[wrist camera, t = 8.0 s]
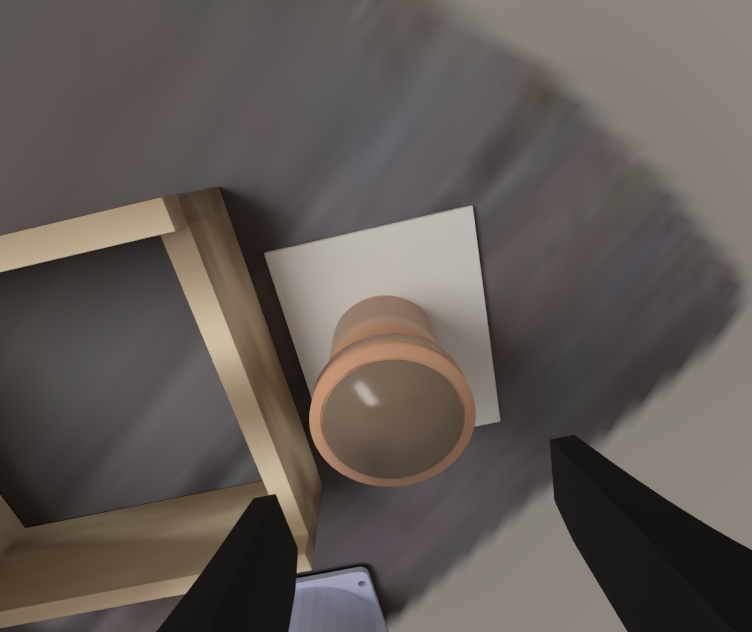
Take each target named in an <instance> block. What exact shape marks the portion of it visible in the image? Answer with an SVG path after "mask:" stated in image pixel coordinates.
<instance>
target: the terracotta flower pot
mask: <svg viewBox="0 0 752 632" xmlns="http://www.w3.org/2000/svg"><path fill="white" fill-rule="evenodd" d="M475 420H476V408H475V402H474V398H473V394H472V392H471V390H470V387H469V385H468V383H467V381H466V379H465V377H464V374H463V372H462V370H461V369H460V367H459V366H458V364H457V363H456V361H455V360H454V359H453V358H452V357H451V356H450V355H449V354H448V353H447V352H446V351H445V350H443V349H442V348H441V346H440V344H439V341H438V339H437V336H436V334H435V332H434V329H433V327H432V324H431V322H430V320H429V319H428V317H427V316H426V314H425V313H424V312H423V311H422V310H421V309H420V308H419V307H418V306H416V305H415V304H413V303H412V302H410V301H408V300H405V299H403V298H399V297H395V296H375V297H370V298H367V299H364V300H362V301H360V302H358V303H356V304H355V305H353V306H352V307H351V308H349V309H348V310H347V311H346V312H345V313H344V314H343V316H342V317H341V318H340V320H339V322H338V323H337V325H336V328H335V331H334V335H333V340H332V346H331V352H330V358H329V362H328V363H327V364H326V365H325V367H324V368H323V370H322V371H321V373H320V375H319V377H318V379H317V382H316V385H315V388H314V393H313V398H312V402H311V407H310V413H309V424H310V431H311V435H312V439H313V441H314V443H315V446H316V448H317V449H318V451H319V453H320V454H321V455H322V457H323V458H324V459H325V460H326V461H327V462H328V463H329V464H330V465H331V466H332V467H333V468H334V469H336V470H337V471H338V472H340V473H341V474H343V475H345V476H347V477H349V478H351V479H353V480H356V481H358V482H361V483H365V484H369V485H375V486H385V487H394V486H404V485H410V484H414V483H418V482H421V481H424V480H426V479H429V478H431V477H433V476H435V475H437V474H439V473H440V472H442V471H443V470H445V469H446V468H447V467H449V466H450V465H451V464H452V463H453V462H454V461H455V460H456V459H457V458H458V457H459V456H460V455H461V454H462V452H463V451H464V450H465V448H466V446H467V445H468V443H469V441H470V439H471V436H472V434H473V431H474V426H475Z"/></svg>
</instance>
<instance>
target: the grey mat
mask: <svg viewBox="0 0 752 632" xmlns="http://www.w3.org/2000/svg"><path fill="white" fill-rule="evenodd" d="M264 255H265V258H266V261H267V264H268V267H269V270H270V274H271V277H272V280H273V283H274V286H275V289H276V292H277V295H278V298H279V301H280V304H281V307H282V310H283V313H284V316H285V319H286V322H287V325H288V328H289V331H290V334H291V337H292V340H293V344H294V347H295V350H296V353H297V356H298V359H299V362H300V365H301V368H302V371H303V374H304V377H305V380H306V383H307V386H308V389H309V392H310V395H311V398H313V393H314V388H315V385H316V382H317V379H318V377H319V375H320V373H321V371H322V370H323V368H324V367H325V365H326V364H327V363H328V362H329V358H330V352H331V346H332V340H333V335H334V331H335V328H336V325H337V323H338V322H339V320H340V318H341V317H342V316H343V314H344V313H345V312H346V311H347V310H348V309H349V308H351V307H352V306H353V305H355V304H356V303H358V302H360V301H362V300H364V299H367V298H370V297H375V296H395V297H399V298H403V299H405V300H408V301H410V302H412V303H413V304H415V305H416V306H418V307H419V308H420V309H421V310H422V311H423V312H424V313H425V314H426V316H427V317H428V319H429V320H430V322H431V324H432V327H433V329H434V332H435V334H436V336H437V339H438V341H439V344H440V346H441V348H442V349H443V350H445V351H446V352H447V353H448V354H449V355H450V356H451V357H452V358H453V359H454V360H455V361H456V363H457V364H458V366H459V367H460V369H461V370H462V372H463V374H464V377H465V379H466V381H467V383H468V385H469V387H470V390H471V392H472V394H473V398H474V402H475V408H476V420H475V426H480V425H485V424H490V423H495V422H500V414H499V407H498V399H497V391H496V383H495V376H494V368H493V360H492V352H491V345H490V337H489V329H488V321H487V313H486V306H485V298H484V290H483V282H482V275H481V267H480V259H479V251H478V244H477V236H476V228H475V220H474V213H473V206H472V205H469V206H465V207H461V208H456V209H452V210H447V211H443V212H439V213H434V214H430V215H426V216H421V217H417V218H413V219H408V220H404V221H399V222H395V223H391V224H386V225H382V226H378V227H373V228H369V229H365V230H360V231H356V232H351V233H347V234H343V235H338V236H334V237H330V238H325V239H321V240H317V241H312V242H308V243H303V244H299V245H295V246H290V247H286V248H282V249H277V250H273V251H269V252H265V253H264ZM475 426H474V427H475Z"/></svg>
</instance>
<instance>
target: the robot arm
mask: <svg viewBox="0 0 752 632" xmlns="http://www.w3.org/2000/svg"><path fill="white" fill-rule="evenodd" d="M550 448H551V462H552V475H553V488H554V500H555V502H556V505H557V507H558V509H559V511H560V513H561V515H562V518H563V520H564V522H565V524H566V526H567V529H568V530H569V533H570V535H571V537H572V539H573V541H574V543H575V545H576V546H577V548H578V550H579V551H580V553H581V555H582V556H583V558H584V560H585V562H586V563H587V565H588V567H589V568H590V570H591V572H592V573H593V575H594V577H595V578H596V580H597V582H598V583H599V585H600V587H601V588H602V590H603V592H604V593H605V595H606V596H607V598H608V600H609V602H610V603H611V605H612V607H613V608H614V610H615V611H616V613H617V615H618V617H619V618H620V620H621V622H622V623H623V625H624V627H625V628H626V630H627V631H628V632H752V550H751V549H749V548H747V547H745V546H743V545H741V544H740V543H738V542H736V541H734V540H732V539H730V538H729V537H727V536H725V535H723V534H722V533H720V532H718V531H717V530H715V529H713V528H712V527H710V526H708V525H707V524H705V523H703V522H702V521H700V520H698V519H697V518H695V517H694V516H692V515H690V514H689V513H687V512H685V511H683V510H682V509H681V508H679V507H677V506H676V505H674V504H673V503H671V502H669V501H668V500H666V499H665V498H663V497H662V496H661V495H659V494H658V493H656V492H655V491H653V490H652V489H650V488H649V487H647V486H646V485H644V484H643V483H641V482H640V481H638V480H637V479H635V478H634V477H632V476H631V475H629V474H628V473H627V472H625V471H624V470H622V469H621V468H620V467H618V466H617V465H615V464H614V463H612V462H611V461H609V460H608V459H607V458H605V457H604V456H603V455H601V454H600V453H599V452H597V451H596V450H595V449H593V448H592V447H590V446H589V445H588V444H586V443H585V442H583V441H582V440H581V439H579V438H578V437H576V436H575V435H571V436H566V437H561V438H556V439H551V440H550ZM297 560H298V547H297V545H296V542H295V540H294V537H293V535H292V533H291V530H290V528H289V525H288V523H287V520H286V518H285V515H284V513H283V510H282V508H281V506H280V503H279V501H278V498H277V496H276V494H272V495H267V496H262V497H257V498H253V500H252V501H251V502H250V504H249V505H248V507H247V508H246V510H245V511H244V512H243V514H242V515H241V517H240V518H239V520H238V521H237V523H236V524H235V525H234V527H233V528H232V530H231V531H230V533H229V534H228V536H227V537H226V539H225V540H224V541H223V543H222V544H221V546H220V547H219V549H218V550H217V552H216V553H215V554H214V556H213V557H212V559H211V560H210V561H209V563H208V564H207V566H206V567H205V568H204V570H203V571H202V573H201V574H200V575H199V577H198V578H197V580H196V581H195V582H194V584H193V585H192V586H191V588H190V589H189V590H188V592H187V593H186V594H185V595H184V597H183V598H182V599H181V601H180V602H179V603H178V605H177V606H176V607H175V609H174V610H173V611H172V613H171V614H170V615H169V616H168V618H167V619H166V620H165V622H164V623H163V624H162V625H161V627H160V628H159V629H158V630H157V632H388V629H387V626H386V623H385V620H384V617H383V614H382V611H381V608H380V604H379V601H378V598H377V595H376V592H375V589H374V586H373V583H372V580H371V577H370V574H369V571H368V570H367V569H366V568H365V567H355V568H350V569H344V570H339V571H333V572H328V573H323V574H317V575H312V576H307V577H301V578H296V576H297Z"/></svg>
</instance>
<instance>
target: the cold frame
mask: <svg viewBox="0 0 752 632" xmlns="http://www.w3.org/2000/svg"><path fill="white" fill-rule="evenodd" d="M157 235H160V236H161V238H162V240H163V243H164V245H165V248H166V250H167V252H168V255H169V257H170V260H171V262H172V264H173V267H174V269H175V272H176V274H177V276H178V279H179V281H180V283H181V286H182V288H183V291H184V293H185V295H186V298H187V300H188V303H189V305H190V307H191V310H192V312H193V315H194V317H195V319H196V322H197V324H198V327H199V329H200V331H201V334H202V336H203V339H204V341H205V343H206V346H207V348H208V350H209V353H210V355H211V358H212V360H213V362H214V365H215V367H216V370H217V372H218V374H219V377H220V379H221V382H222V384H223V386H224V389H225V391H226V394H227V396H228V398H229V401H230V403H231V406H232V408H233V410H234V413H235V415H236V418H237V420H238V422H239V425H240V427H241V429H242V432H243V434H244V437H245V439H246V441H247V444H248V446H249V449H250V451H251V453H252V456H253V458H254V461H255V463H256V465H257V468H258V470H259V473H260V475H261V477H262V480H263V481H259V482H254V483H249V484H244V485H239V486H234V487H229V488H224V489H219V490H214V491H209V492H204V493H199V494H194V495H189V496H184V497H179V498H174V499H169V500H164V501H159V502H154V503H149V504H144V505H139V506H134V507H129V508H124V509H119V510H114V511H109V512H104V513H99V514H94V515H89V516H84V517H79V518H74V519H69V520H64V521H59V522H54V523H49V524H44V525H39V526H34V527H28V528H25V527H24V526H23V524H22V523H21V522H20V520H19V519H18V518H17V516H16V515H15V514H14V512H13V511H12V510H11V508H10V507H9V506H8V504H7V503H6V501H5V500H4V499H3V497H2V496H1V495H0V628H4V627H10V626H15V625H20V624H26V623H31V622H36V621H42V620H47V619H53V618H58V617H63V616H69V615H74V614H79V613H85V612H90V611H95V610H101V609H106V608H111V607H117V606H122V605H128V604H133V603H138V602H144V601H149V600H154V599H160V598H165V597H170V596H176V595H181V594H186V593H187V592H188V590H189V589H190V588H191V586H192V585H193V584H194V582H195V581H196V580H197V578H198V577H199V575H200V574H201V573H202V571H203V570H204V568H205V567H206V566H207V564H208V563H209V561H210V560H211V559H212V557H213V556H214V554H215V553H216V552H217V550H218V549H219V547H220V546H221V544H222V543H223V541H224V540H225V539H226V537H227V536H228V534H229V533H230V531H231V530H232V528H233V527H234V525H235V524H236V523H237V521H238V520H239V518H240V517H241V515H242V514H243V512H244V511H245V510H246V508H247V507H248V505H249V504H250V502H251V501H252V500H253V498H257V497H262V496H267V495H272V494H276V496H277V498H278V501H279V503H280V506H281V508H282V510H283V513H284V515H285V518H286V520H287V523H288V525H289V528H290V530H291V533H292V535H293V537H294V540H295V542H296V545H297V547H298V560H297V573H299V572H304V571H310V570H312V564H313V556H314V548H315V540H316V532H317V524H318V516H319V508H320V500H321V492H322V481H321V478H320V475H319V472H318V470H317V467H316V464H315V461H314V458H313V455H312V452H311V450H310V447H309V444H308V441H307V438H306V435H305V432H304V429H303V427H302V424H301V421H300V418H299V415H298V412H297V409H296V407H295V404H294V401H293V398H292V395H291V392H290V389H289V386H288V384H287V381H286V378H285V375H284V372H283V369H282V366H281V364H280V361H279V358H278V355H277V352H276V349H275V346H274V343H273V341H272V338H271V335H270V332H269V329H268V326H267V323H266V321H265V318H264V315H263V312H262V309H261V306H260V303H259V300H258V298H257V295H256V292H255V289H254V286H253V283H252V280H251V278H250V275H249V272H248V269H247V266H246V263H245V260H244V257H243V255H242V252H241V249H240V246H239V243H238V240H237V237H236V235H235V232H234V229H233V226H232V223H231V220H230V217H229V215H228V212H227V209H226V206H225V203H224V200H223V197H222V194H221V192H220V189H219V187H214V188H209V189H203V190H198V191H193V192H188V193H182V194H177V195H172V196H167V197H161V198H157V199H153V200H149V201H145V202H141V203H136V204H132V205H128V206H124V207H120V208H115V209H111V210H107V211H103V212H99V213H95V214H90V215H86V216H82V217H78V218H74V219H70V220H65V221H61V222H57V223H53V224H49V225H45V226H40V227H36V228H32V229H28V230H24V231H19V232H15V233H11V234H7V235H3V236H0V272H3V271H7V270H12V269H16V268H20V267H25V266H29V265H33V264H37V263H42V262H46V261H50V260H54V259H59V258H63V257H67V256H71V255H76V254H80V253H84V252H88V251H93V250H97V249H101V248H106V247H110V246H114V245H118V244H123V243H127V242H131V241H135V240H140V239H144V238H148V237H152V236H157Z"/></svg>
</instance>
